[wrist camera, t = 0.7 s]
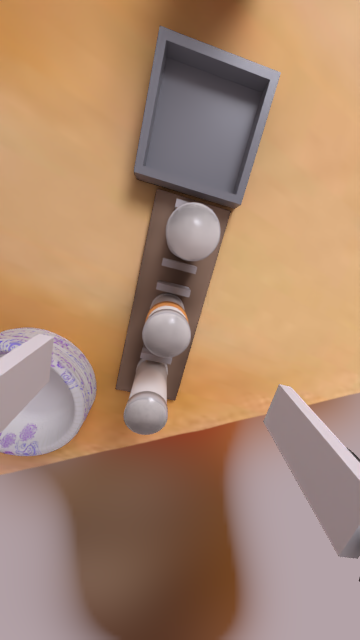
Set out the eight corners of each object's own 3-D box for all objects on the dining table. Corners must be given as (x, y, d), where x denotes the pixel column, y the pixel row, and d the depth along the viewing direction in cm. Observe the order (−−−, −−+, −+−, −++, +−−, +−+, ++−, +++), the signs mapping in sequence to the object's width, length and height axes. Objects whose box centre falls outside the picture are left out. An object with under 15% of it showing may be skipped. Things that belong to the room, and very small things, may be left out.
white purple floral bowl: (5, 415, 34) (-42, 462, 27) (-18, 318, 30) (-82, 341, 22) (107, 413, 35) (90, 458, 27) (99, 319, 31) (76, 341, 23)
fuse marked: (146, 321, 30) (137, 352, 21) (154, 288, 29) (147, 306, 20) (179, 328, 31) (184, 362, 21) (187, 296, 30) (197, 318, 20)
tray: (136, 179, 26) (133, 171, 24) (160, 49, 23) (159, 25, 20) (234, 208, 27) (240, 204, 25) (269, 90, 24) (280, 72, 22)
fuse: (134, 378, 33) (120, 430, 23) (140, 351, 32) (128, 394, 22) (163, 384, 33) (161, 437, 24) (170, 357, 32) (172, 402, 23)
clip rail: (116, 386, 34) (110, 402, 30) (157, 190, 26) (155, 181, 23) (174, 397, 35) (175, 414, 31) (229, 212, 28) (238, 206, 24)
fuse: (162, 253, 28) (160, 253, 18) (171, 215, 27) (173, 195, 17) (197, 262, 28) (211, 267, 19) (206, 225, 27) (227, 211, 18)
